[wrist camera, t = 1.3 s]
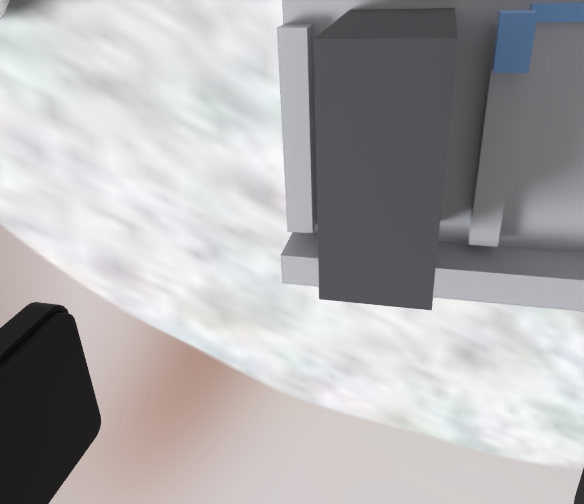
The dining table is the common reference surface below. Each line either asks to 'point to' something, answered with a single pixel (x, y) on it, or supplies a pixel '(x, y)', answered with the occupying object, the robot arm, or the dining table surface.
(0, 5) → the plastic bottle
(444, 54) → the dark gray block
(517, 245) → the grey tray
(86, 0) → the dining table surface
